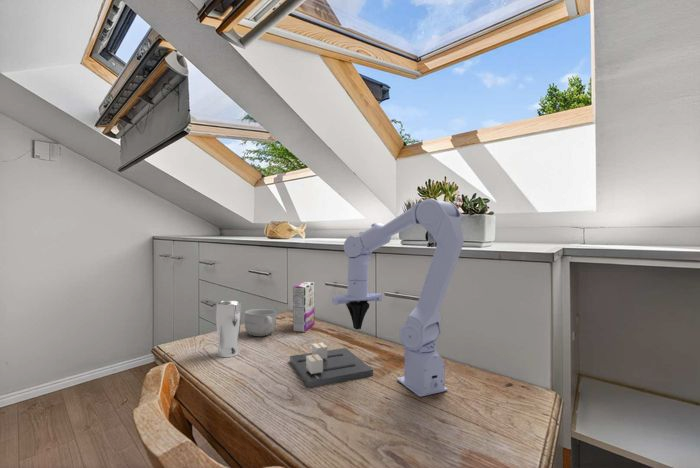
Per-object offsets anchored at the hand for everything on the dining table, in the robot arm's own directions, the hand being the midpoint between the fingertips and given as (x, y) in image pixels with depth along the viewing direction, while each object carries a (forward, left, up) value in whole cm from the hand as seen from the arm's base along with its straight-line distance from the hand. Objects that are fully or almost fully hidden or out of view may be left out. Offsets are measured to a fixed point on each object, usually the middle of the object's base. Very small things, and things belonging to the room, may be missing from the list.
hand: (357, 328), depth 93 cm
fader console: (-1, +9, -9) cm, 13 cm away
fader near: (-5, +14, -7) cm, 17 cm away
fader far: (+3, +10, -7) cm, 13 cm away
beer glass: (+20, +32, -10) cm, 39 cm away
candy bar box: (+37, +4, -10) cm, 38 cm away
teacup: (+34, +20, -10) cm, 41 cm away
